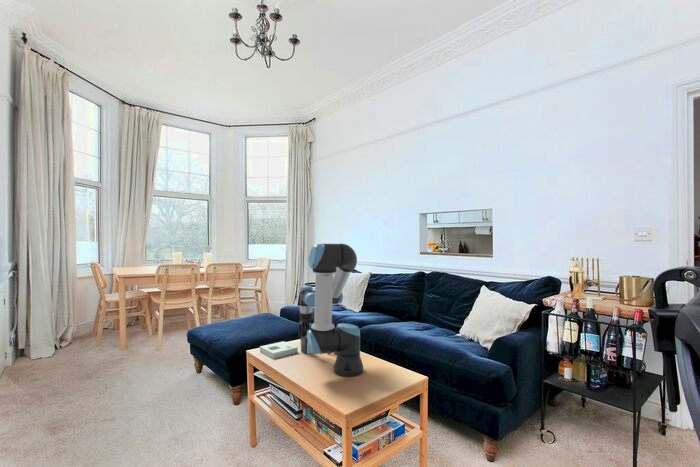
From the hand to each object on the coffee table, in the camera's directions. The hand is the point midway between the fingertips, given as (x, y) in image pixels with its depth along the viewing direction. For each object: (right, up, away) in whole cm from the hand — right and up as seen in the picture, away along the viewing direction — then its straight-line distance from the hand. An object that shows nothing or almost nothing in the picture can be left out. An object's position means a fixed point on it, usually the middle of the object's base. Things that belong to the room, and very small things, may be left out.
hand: (306, 351), depth 207 cm
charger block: (0, 0, 0) cm, 0 cm away
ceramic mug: (+18, -1, 0) cm, 18 cm away
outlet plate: (-16, 0, 0) cm, 16 cm away
